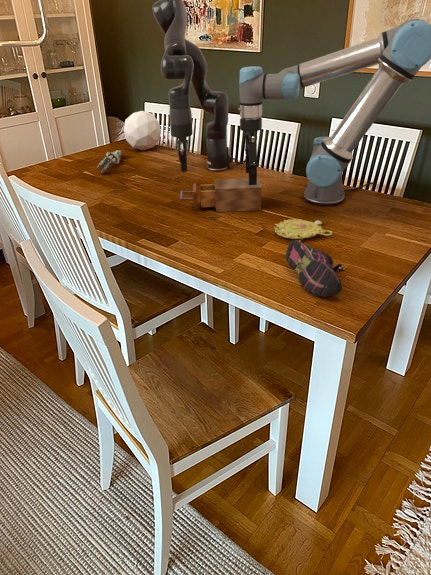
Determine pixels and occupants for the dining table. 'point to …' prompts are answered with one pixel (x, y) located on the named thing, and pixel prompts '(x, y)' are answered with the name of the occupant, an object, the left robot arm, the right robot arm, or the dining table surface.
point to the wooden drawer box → (237, 195)
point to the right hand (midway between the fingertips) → (250, 178)
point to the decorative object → (300, 229)
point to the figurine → (110, 160)
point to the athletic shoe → (314, 269)
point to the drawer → (202, 195)
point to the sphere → (142, 130)
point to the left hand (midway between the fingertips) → (184, 171)
